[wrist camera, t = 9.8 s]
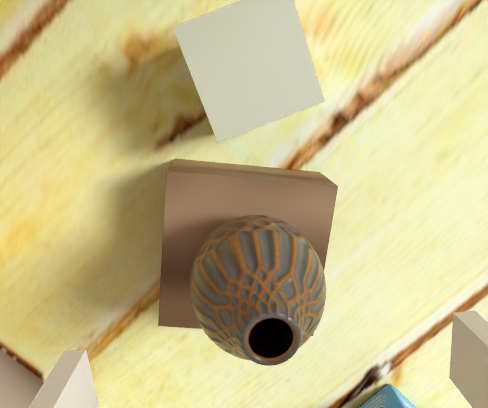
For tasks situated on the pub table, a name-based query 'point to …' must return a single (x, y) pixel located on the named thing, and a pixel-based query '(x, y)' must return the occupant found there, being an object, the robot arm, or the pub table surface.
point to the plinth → (232, 217)
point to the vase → (258, 288)
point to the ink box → (388, 399)
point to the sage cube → (249, 64)
